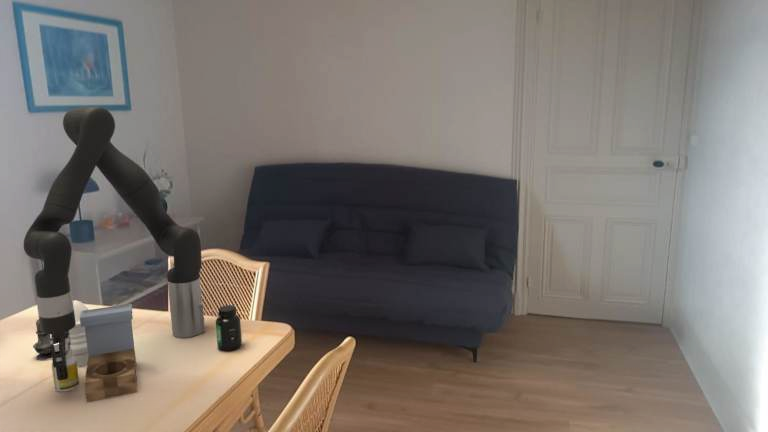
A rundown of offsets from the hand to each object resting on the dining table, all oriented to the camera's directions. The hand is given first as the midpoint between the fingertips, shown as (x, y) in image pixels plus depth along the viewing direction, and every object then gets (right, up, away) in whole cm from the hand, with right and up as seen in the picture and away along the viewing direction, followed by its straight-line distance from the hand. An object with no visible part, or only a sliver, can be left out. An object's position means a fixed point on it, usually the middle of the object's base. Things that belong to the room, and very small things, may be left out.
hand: (64, 371), depth 141 cm
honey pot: (-5, -1, +17) cm, 18 cm away
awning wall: (+8, -2, +9) cm, 12 cm away
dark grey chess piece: (-15, -1, +18) cm, 23 cm away
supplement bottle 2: (+35, +1, +22) cm, 42 cm away
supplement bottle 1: (0, -4, +1) cm, 4 cm away
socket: (+11, -4, +3) cm, 12 cm away
